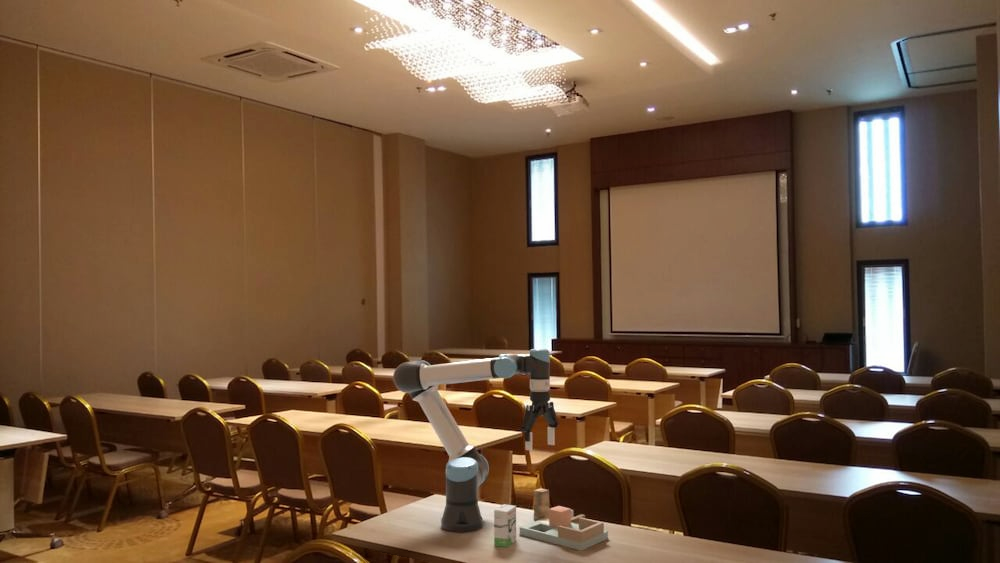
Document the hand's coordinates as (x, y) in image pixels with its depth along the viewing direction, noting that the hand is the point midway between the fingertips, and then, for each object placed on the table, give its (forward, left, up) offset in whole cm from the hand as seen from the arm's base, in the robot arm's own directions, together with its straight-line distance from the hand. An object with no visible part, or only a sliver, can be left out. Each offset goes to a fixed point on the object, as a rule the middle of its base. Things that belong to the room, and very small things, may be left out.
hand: (540, 447), depth 271 cm
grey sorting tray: (+18, -10, -27) cm, 34 cm away
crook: (+6, +3, -27) cm, 28 cm away
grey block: (+8, +5, -27) cm, 28 cm away
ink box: (+7, -28, -27) cm, 40 cm away
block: (+14, -7, -24) cm, 29 cm away
